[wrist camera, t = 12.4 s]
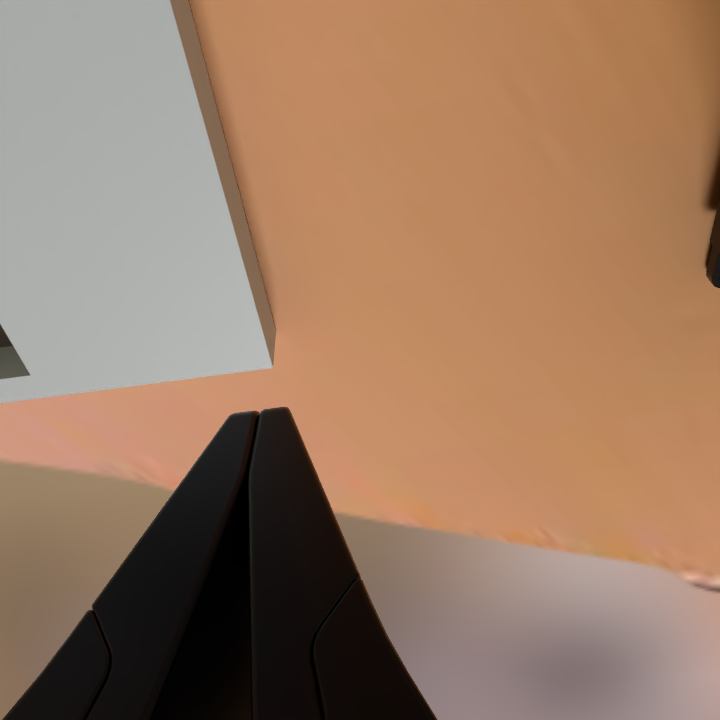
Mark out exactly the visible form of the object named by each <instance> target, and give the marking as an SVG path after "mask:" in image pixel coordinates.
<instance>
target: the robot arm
mask: <svg viewBox="0 0 720 720" xmlns="http://www.w3.org/2000/svg"><path fill="white" fill-rule="evenodd" d="M710 242H711V244H712V245H713V246H712V250H711V254H710V259H709V263H708V267H707V271H706V276H707V278H708V279H709V280H710V282H711V283H712V284H713V285H714V286H715V287H717V288H720V199H719V204H718V208H717V212H716V217H715V221H714V225H713V229H712V234H711V238H710ZM92 609H93V610H88V611H87V612H86V614H85V615H84V616H83V618H82V619H81V621H80V622H79V623H78V625H77V626H76V628H75V629H74V630H73V632H72V633H71V634H70V636H69V637H68V638H67V640H66V641H65V642H64V644H63V645H62V646H61V648H60V649H59V650H58V651H57V653H56V654H55V655H54V657H53V658H52V659H51V661H50V662H49V663H48V665H47V666H46V667H45V669H44V670H43V671H42V673H41V674H40V675H39V676H38V677H37V679H36V680H35V681H34V682H33V683H32V685H31V686H30V687H29V688H28V690H27V691H26V692H25V693H24V694H23V695H22V697H21V698H20V699H19V700H18V701H17V703H16V704H15V705H14V706H13V707H12V709H11V710H10V711H9V712H8V713H7V715H6V716H5V717H4V718H3V720H437V718H436V717H435V715H434V713H433V712H432V710H431V709H430V707H429V705H428V704H427V702H426V700H425V699H424V697H423V695H422V694H421V692H420V691H419V689H418V687H417V686H416V684H415V682H414V681H413V679H412V678H411V676H410V674H409V673H408V671H407V669H406V667H405V666H404V664H403V662H402V660H401V659H400V657H399V655H398V654H397V652H396V650H395V648H394V646H393V645H392V643H391V641H390V639H389V637H388V635H387V633H386V631H385V629H384V627H383V625H382V623H381V621H380V619H379V617H378V614H377V612H376V610H375V608H374V606H373V604H372V601H371V599H370V597H369V595H368V592H367V590H366V587H365V585H364V583H363V581H362V580H361V577H360V574H359V572H358V569H357V567H356V564H355V562H354V560H353V557H352V555H351V553H350V550H349V548H348V546H347V544H346V541H345V539H344V536H343V534H342V532H341V529H340V527H339V525H338V522H337V520H336V517H335V515H334V513H333V510H332V508H331V506H330V503H329V501H328V499H327V496H326V494H325V492H324V489H323V487H322V485H321V482H320V480H319V477H318V475H317V473H316V470H315V468H314V466H313V463H312V461H311V459H310V456H309V454H308V452H307V449H306V447H305V445H304V442H303V440H302V437H301V435H300V433H299V430H298V428H297V426H296V423H295V421H294V419H293V416H292V414H291V412H290V410H289V409H288V408H287V407H279V408H271V409H264V410H263V411H261V412H260V413H259V412H257V411H248V412H240V413H234V414H232V415H230V416H229V417H228V418H227V420H226V421H225V422H224V424H223V425H222V427H221V428H220V429H219V431H218V432H217V434H216V435H215V436H214V438H213V439H212V440H211V442H210V443H209V445H208V446H207V447H206V449H205V450H204V451H203V453H202V454H201V456H200V457H199V458H198V460H197V461H196V462H195V464H194V465H193V467H192V468H191V469H190V471H189V472H188V474H187V475H186V476H185V478H184V479H183V480H182V482H181V483H180V485H179V486H178V487H177V489H176V490H175V491H174V493H173V494H172V496H171V497H170V498H169V500H168V501H167V502H166V504H165V505H164V507H163V508H162V509H161V511H160V512H159V513H158V515H157V516H156V518H155V519H154V521H153V522H152V523H151V525H150V526H149V527H148V529H147V530H146V531H145V533H144V534H143V536H142V537H141V538H140V540H139V541H138V543H137V544H136V545H135V547H134V548H133V549H132V551H131V552H130V554H129V555H128V557H127V558H126V559H125V560H124V562H123V563H122V564H121V566H120V567H119V569H118V570H117V572H116V573H115V574H114V576H113V577H112V578H111V580H110V581H109V583H108V584H107V585H106V587H105V588H104V589H103V591H102V592H101V593H100V595H99V596H98V598H97V599H96V600H95V602H94V603H93V605H92Z"/></svg>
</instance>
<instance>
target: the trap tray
mask: <svg viewBox="0 0 720 720" xmlns="http://www.w3.org/2000/svg"><path fill="white" fill-rule="evenodd" d="M275 337H276V329H275V326H274V322H273V318H272V314H271V310H270V307H269V303H268V299H267V295H266V292H265V288H264V284H263V280H262V276H261V273H260V269H259V265H258V261H257V258H256V254H255V250H254V246H253V242H252V239H251V235H250V231H249V227H248V223H247V220H246V216H245V212H244V208H243V205H242V201H241V197H240V193H239V189H238V186H237V182H236V178H235V174H234V171H233V167H232V163H231V159H230V155H229V152H228V148H227V144H226V140H225V137H224V133H223V129H222V125H221V121H220V118H219V114H218V110H217V106H216V102H215V99H214V95H213V91H212V87H211V84H210V80H209V76H208V72H207V68H206V65H205V61H204V57H203V53H202V50H201V46H200V42H199V38H198V34H197V31H196V27H195V23H194V19H193V16H192V12H191V8H190V4H189V0H0V403H7V402H15V401H23V400H30V399H38V398H46V397H53V396H61V395H69V394H76V393H84V392H92V391H99V390H107V389H115V388H122V387H130V386H138V385H145V384H153V383H161V382H168V381H176V380H184V379H191V378H199V377H207V376H214V375H222V374H230V373H237V372H245V371H253V370H260V369H268V368H273V361H274V349H275Z"/></svg>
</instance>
